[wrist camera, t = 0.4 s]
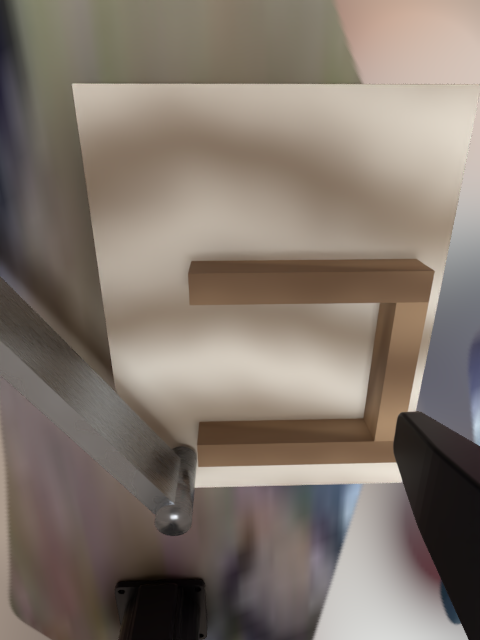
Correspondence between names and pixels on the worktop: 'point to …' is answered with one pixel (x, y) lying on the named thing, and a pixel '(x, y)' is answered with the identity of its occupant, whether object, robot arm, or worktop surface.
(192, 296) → the cradle
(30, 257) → the worktop surface
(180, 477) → the bar
